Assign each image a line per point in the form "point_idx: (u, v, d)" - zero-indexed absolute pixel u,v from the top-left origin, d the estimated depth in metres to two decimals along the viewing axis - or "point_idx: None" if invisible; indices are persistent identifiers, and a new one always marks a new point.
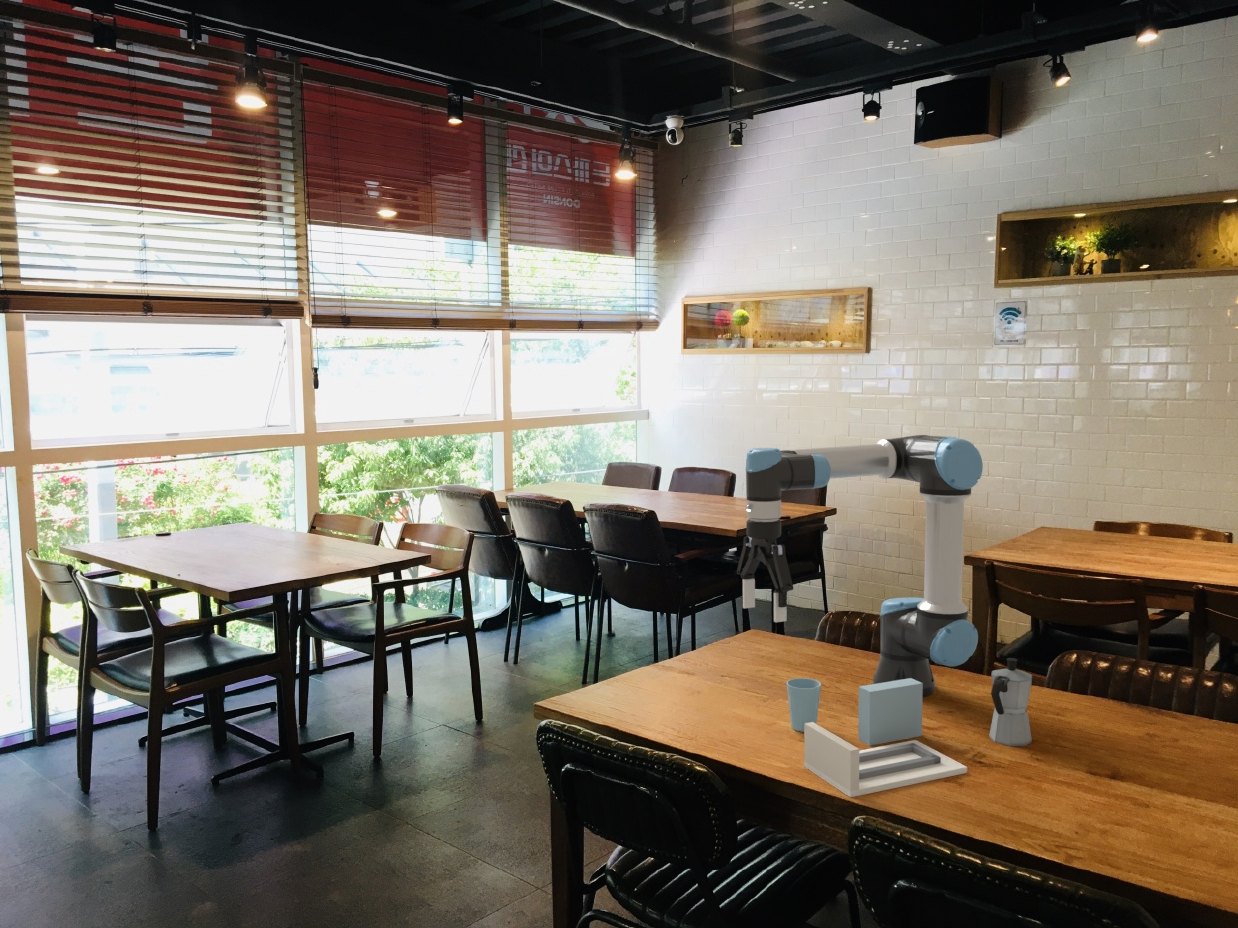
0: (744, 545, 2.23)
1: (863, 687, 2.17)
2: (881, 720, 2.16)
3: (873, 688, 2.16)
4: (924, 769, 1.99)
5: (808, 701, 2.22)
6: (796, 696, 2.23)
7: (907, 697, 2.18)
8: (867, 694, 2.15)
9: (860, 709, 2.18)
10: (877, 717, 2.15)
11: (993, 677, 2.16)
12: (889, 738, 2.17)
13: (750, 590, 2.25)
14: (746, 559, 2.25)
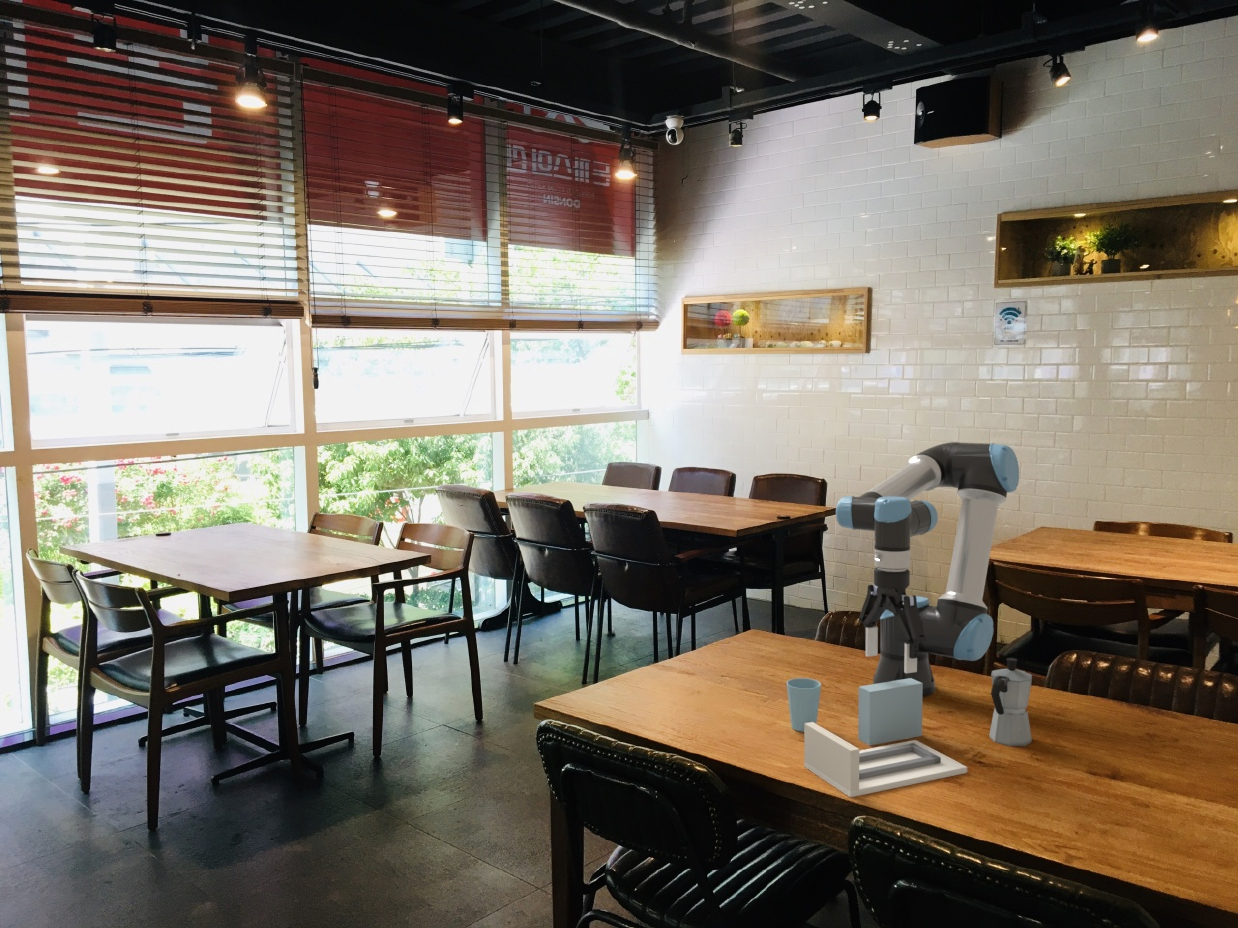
0: (868, 593, 2.22)
1: (863, 687, 2.17)
2: (881, 720, 2.16)
3: (872, 688, 2.16)
4: (924, 769, 1.99)
5: (808, 701, 2.22)
6: (796, 696, 2.23)
7: (907, 697, 2.18)
8: (867, 695, 2.15)
9: (860, 709, 2.18)
10: (877, 717, 2.15)
11: (993, 677, 2.16)
12: (889, 738, 2.17)
13: (873, 638, 2.24)
14: (869, 607, 2.23)
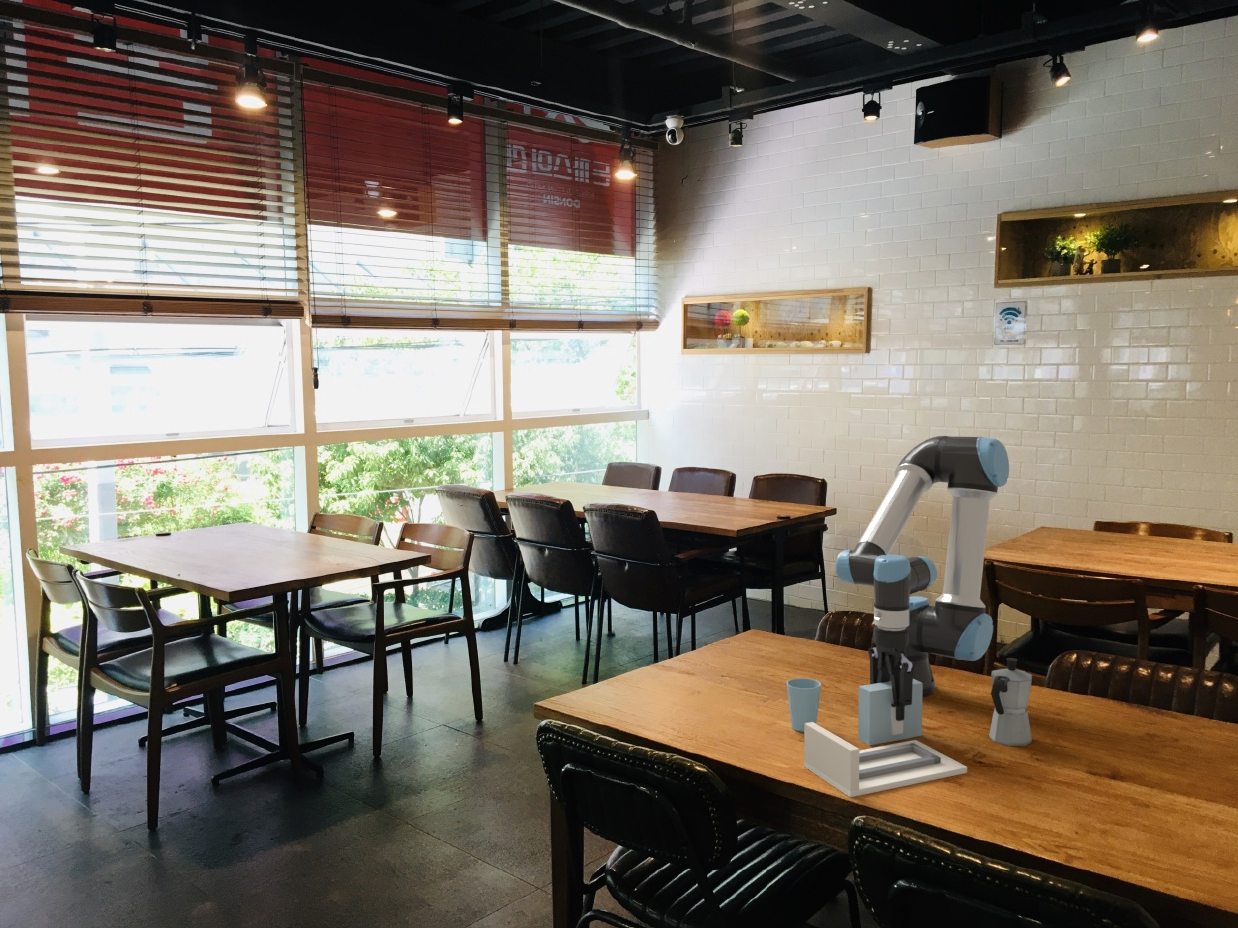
0: (870, 657, 2.23)
1: (863, 687, 2.17)
2: (881, 720, 2.16)
3: (872, 687, 2.16)
4: (924, 769, 1.99)
5: (808, 701, 2.22)
6: (796, 696, 2.23)
7: None
8: (867, 694, 2.15)
9: (860, 709, 2.18)
10: (877, 716, 2.15)
11: (993, 677, 2.16)
12: (889, 738, 2.17)
13: None
14: (876, 672, 2.23)
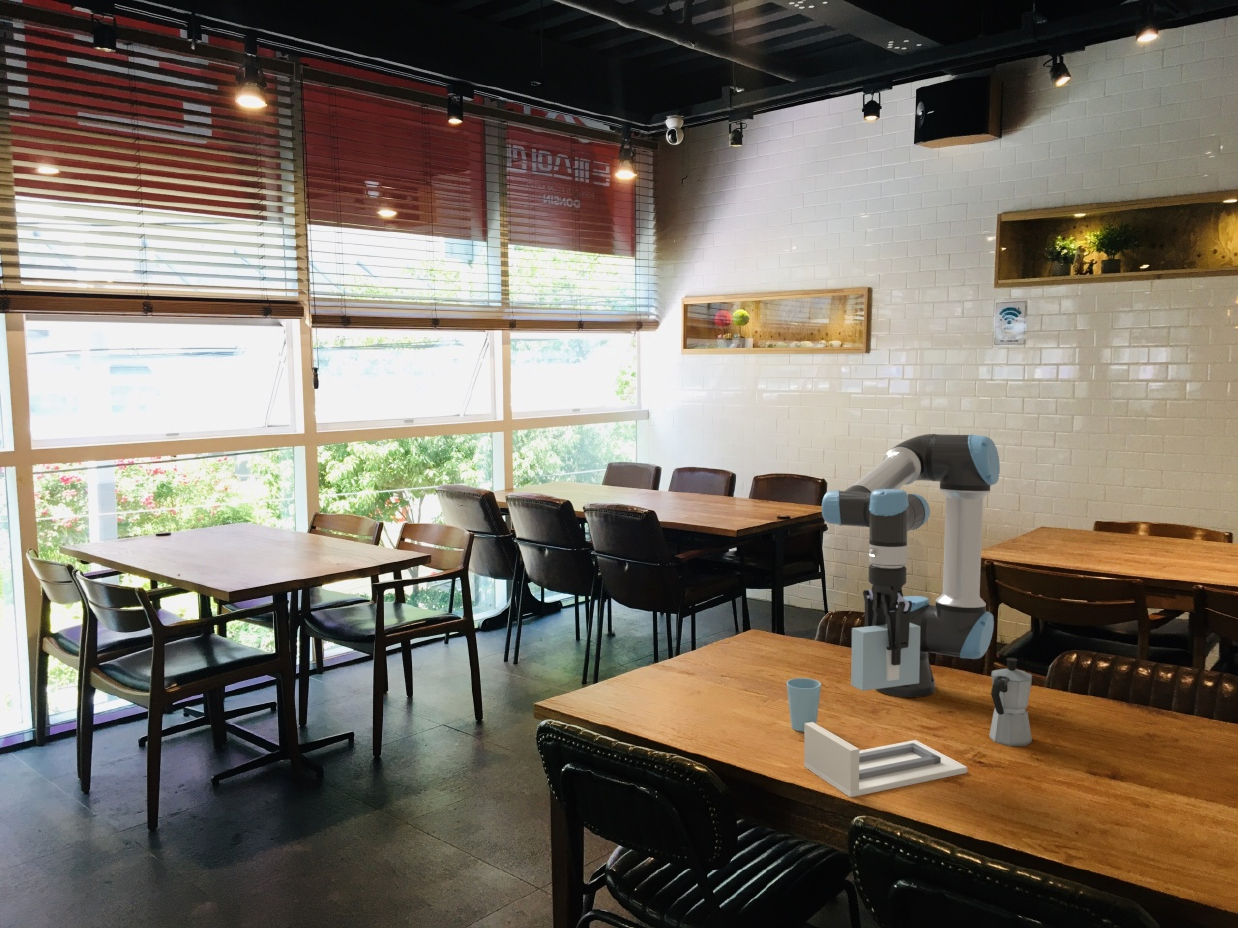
0: (865, 599, 2.09)
1: (856, 629, 2.04)
2: (876, 664, 2.02)
3: (867, 629, 2.03)
4: (924, 769, 1.99)
5: (808, 701, 2.22)
6: (796, 696, 2.23)
7: None
8: (860, 636, 2.02)
9: (853, 652, 2.04)
10: (871, 660, 2.02)
11: (993, 677, 2.16)
12: (884, 684, 2.03)
13: None
14: (871, 616, 2.09)
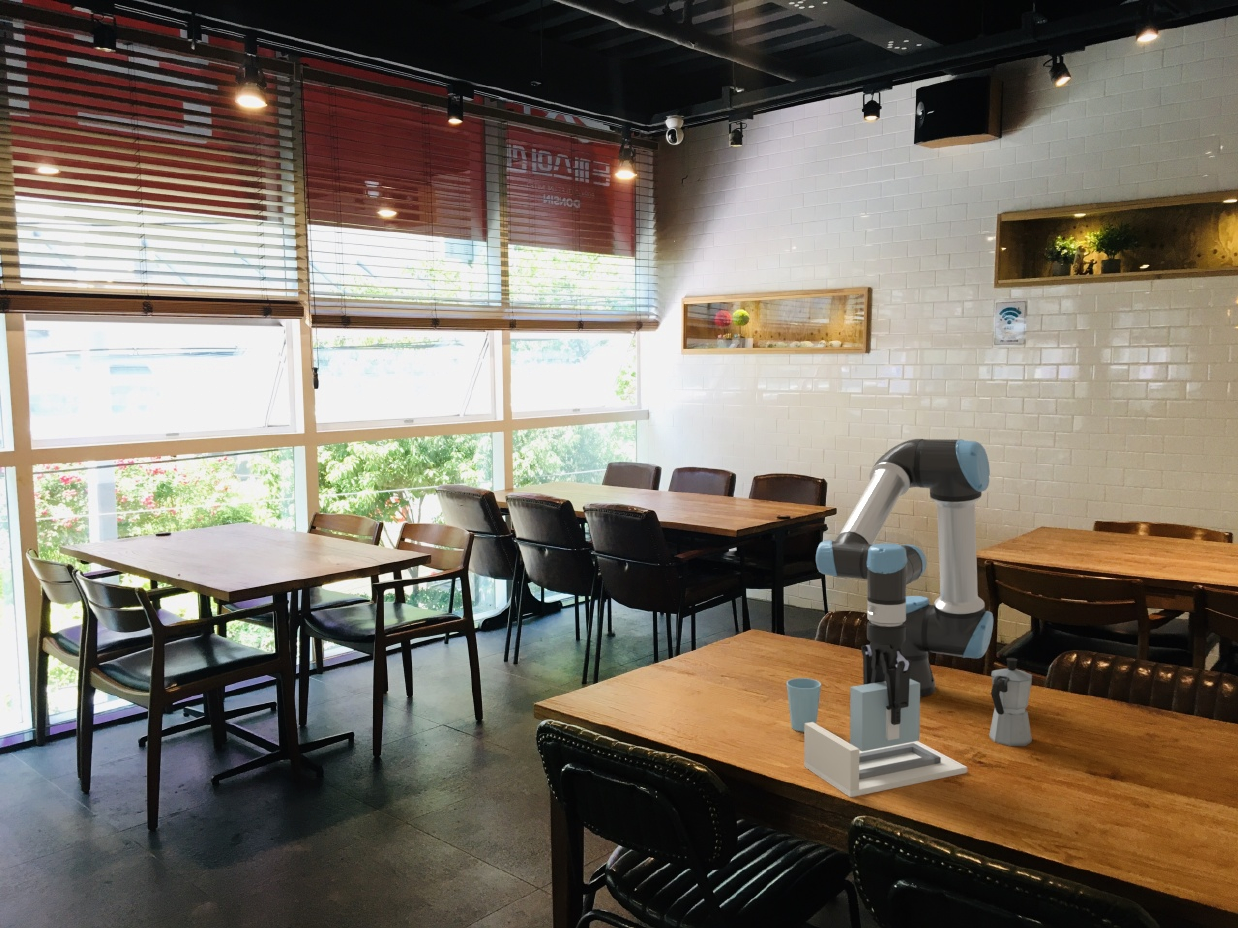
0: (864, 655, 2.05)
1: (855, 687, 1.99)
2: (875, 723, 1.98)
3: (865, 688, 1.98)
4: (924, 769, 1.99)
5: (808, 701, 2.22)
6: (796, 696, 2.23)
7: None
8: (859, 696, 1.97)
9: (852, 711, 2.00)
10: (870, 720, 1.97)
11: (993, 677, 2.16)
12: (884, 743, 1.99)
13: None
14: (870, 672, 2.05)
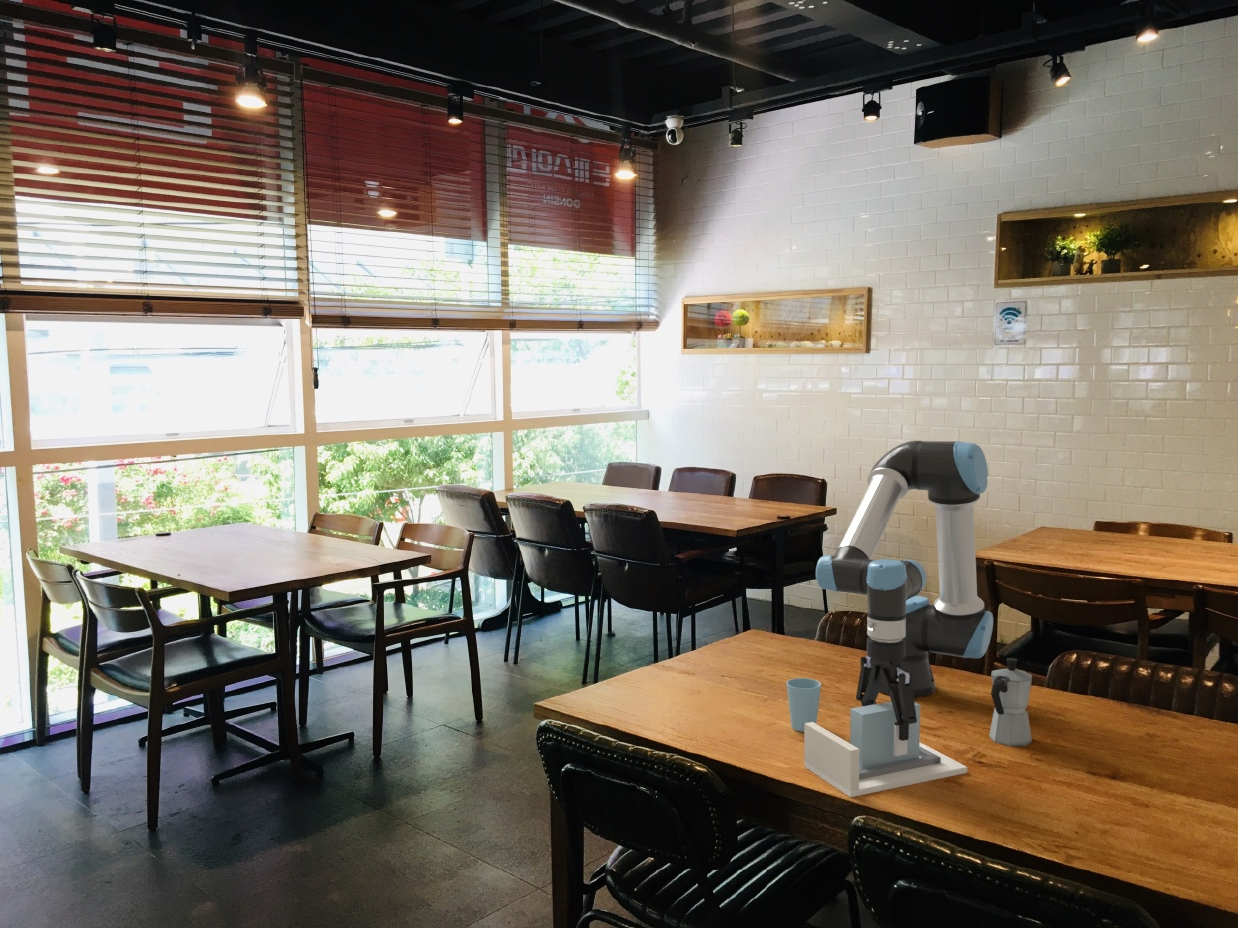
0: (862, 666, 2.06)
1: (855, 709, 2.00)
2: (875, 745, 1.98)
3: (865, 710, 1.99)
4: (924, 769, 1.99)
5: (808, 701, 2.22)
6: (796, 696, 2.23)
7: None
8: (859, 718, 1.97)
9: (852, 733, 2.00)
10: (870, 742, 1.98)
11: (993, 677, 2.16)
12: None
13: None
14: (865, 682, 2.06)
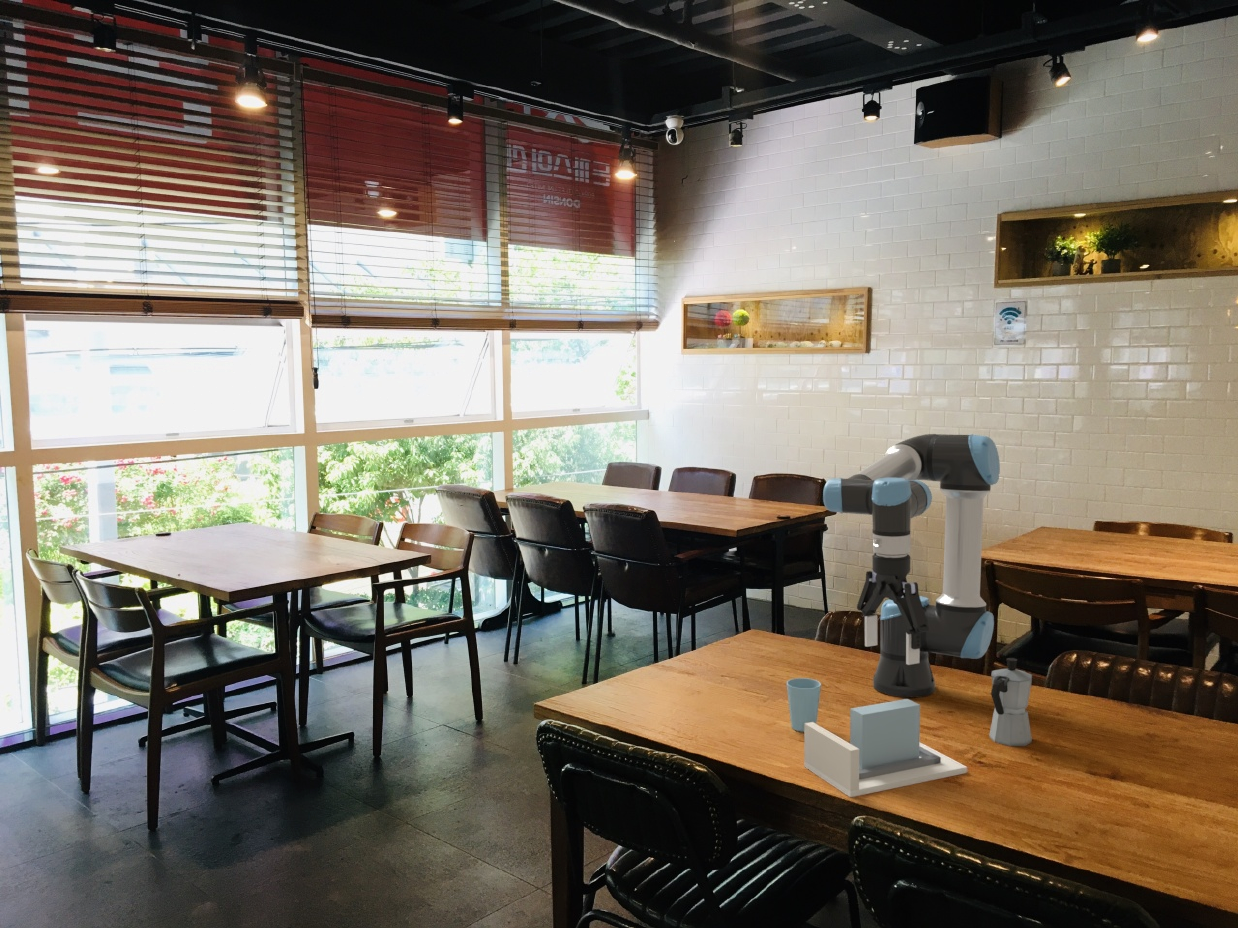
0: (867, 580, 2.10)
1: (855, 709, 2.00)
2: (875, 745, 1.98)
3: (865, 710, 1.99)
4: (924, 769, 1.99)
5: (808, 701, 2.22)
6: (796, 696, 2.23)
7: (903, 720, 2.01)
8: (859, 718, 1.97)
9: (852, 733, 2.00)
10: (870, 742, 1.98)
11: (993, 677, 2.16)
12: None
13: (873, 627, 2.12)
14: (868, 594, 2.11)
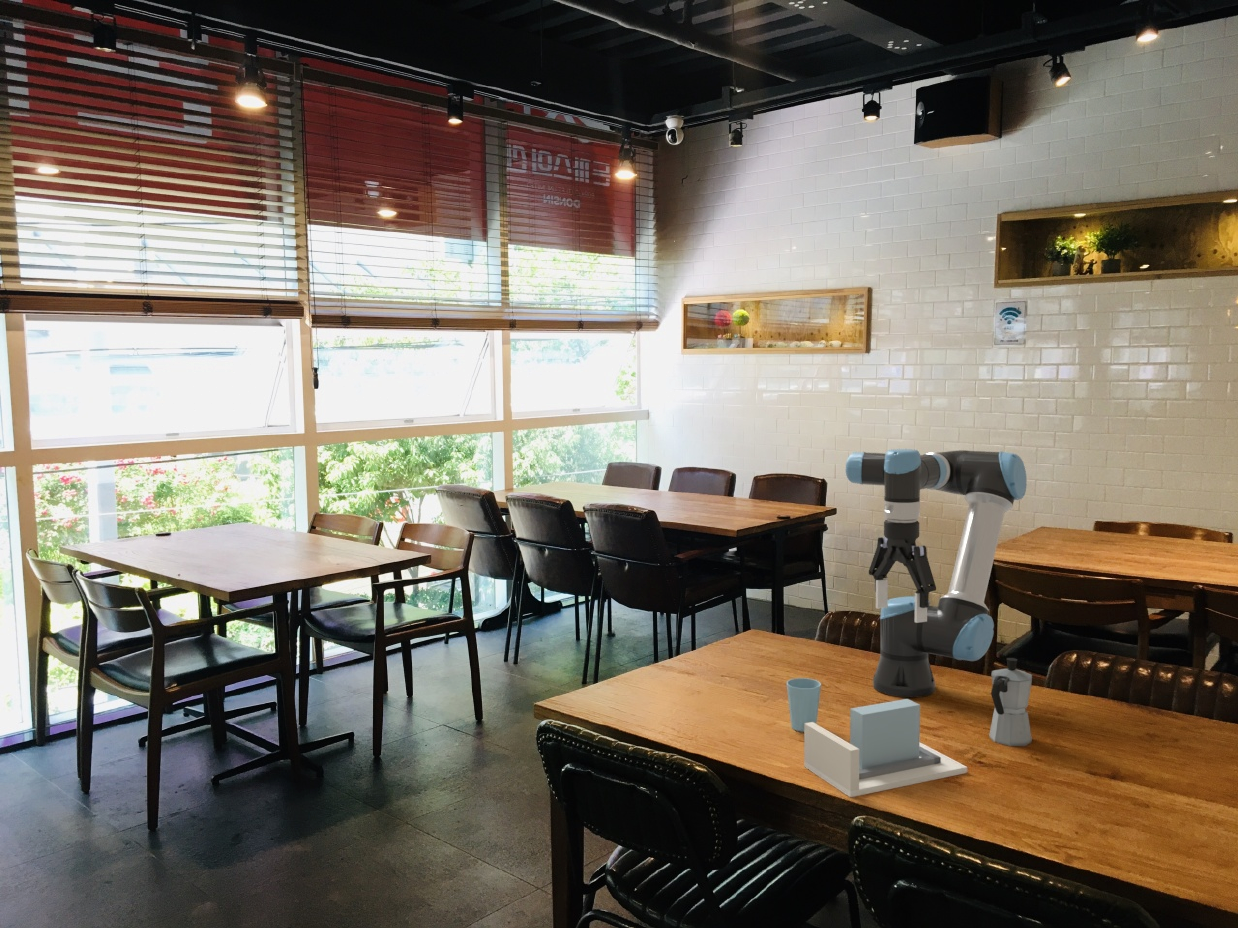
0: (878, 546, 2.24)
1: (855, 709, 2.00)
2: (875, 745, 1.98)
3: (865, 710, 1.99)
4: (924, 769, 1.99)
5: (808, 701, 2.22)
6: (796, 696, 2.23)
7: (903, 720, 2.01)
8: (859, 718, 1.97)
9: (852, 733, 2.00)
10: (870, 742, 1.98)
11: (993, 677, 2.16)
12: None
13: (883, 591, 2.26)
14: (879, 560, 2.26)
